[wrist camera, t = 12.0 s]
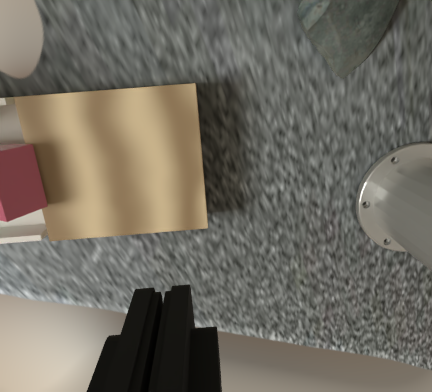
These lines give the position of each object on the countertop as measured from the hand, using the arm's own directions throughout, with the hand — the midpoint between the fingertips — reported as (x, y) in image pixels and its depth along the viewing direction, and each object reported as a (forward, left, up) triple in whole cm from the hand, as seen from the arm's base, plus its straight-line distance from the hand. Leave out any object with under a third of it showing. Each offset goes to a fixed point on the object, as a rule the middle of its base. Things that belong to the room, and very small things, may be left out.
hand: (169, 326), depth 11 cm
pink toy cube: (+17, 0, -24) cm, 29 cm away
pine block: (+7, 0, -27) cm, 28 cm away
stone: (-16, -12, -28) cm, 34 cm away
